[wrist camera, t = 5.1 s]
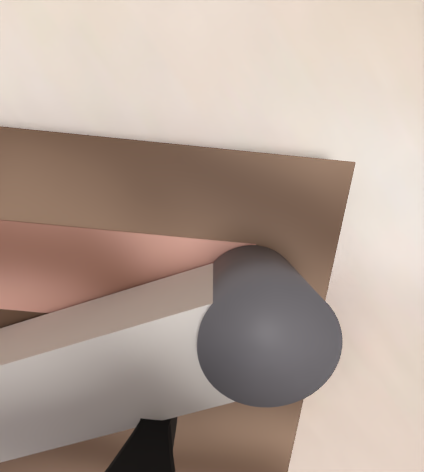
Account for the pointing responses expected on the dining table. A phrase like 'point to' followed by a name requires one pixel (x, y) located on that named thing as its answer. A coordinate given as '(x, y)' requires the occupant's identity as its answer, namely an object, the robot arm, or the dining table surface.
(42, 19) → the dining table surface
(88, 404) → the white bar with cylinder
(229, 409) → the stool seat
